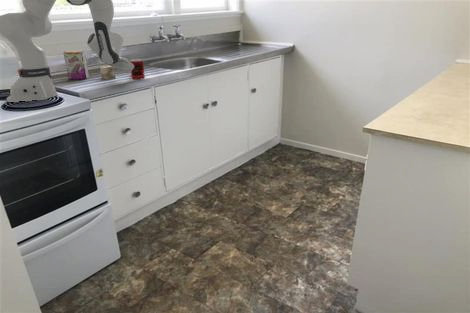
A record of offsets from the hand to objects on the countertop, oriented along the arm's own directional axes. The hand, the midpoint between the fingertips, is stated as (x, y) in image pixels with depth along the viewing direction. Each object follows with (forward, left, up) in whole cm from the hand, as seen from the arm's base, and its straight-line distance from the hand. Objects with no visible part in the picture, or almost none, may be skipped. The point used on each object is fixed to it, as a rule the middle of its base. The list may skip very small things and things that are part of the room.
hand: (129, 71), depth 212 cm
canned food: (+5, +2, -5) cm, 7 cm away
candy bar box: (-26, +22, -5) cm, 35 cm away
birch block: (-10, +13, -5) cm, 17 cm away
